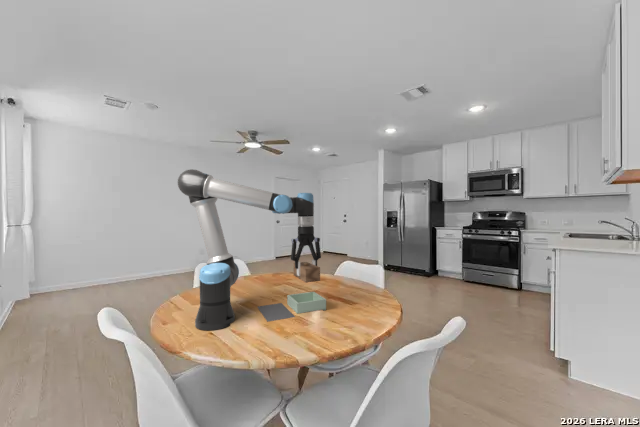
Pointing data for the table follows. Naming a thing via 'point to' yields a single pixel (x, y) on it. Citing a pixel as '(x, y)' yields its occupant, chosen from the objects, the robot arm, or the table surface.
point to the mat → (275, 312)
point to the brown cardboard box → (308, 272)
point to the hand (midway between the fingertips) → (306, 274)
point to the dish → (306, 302)
